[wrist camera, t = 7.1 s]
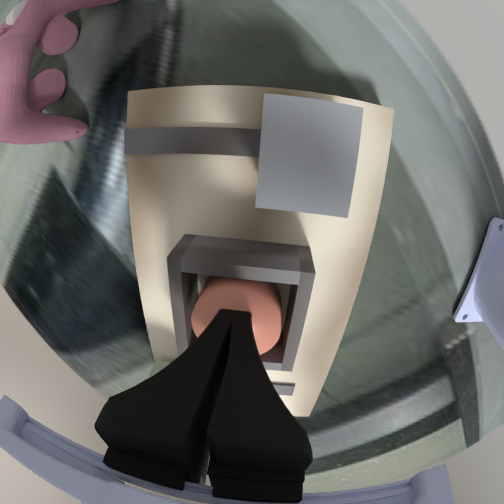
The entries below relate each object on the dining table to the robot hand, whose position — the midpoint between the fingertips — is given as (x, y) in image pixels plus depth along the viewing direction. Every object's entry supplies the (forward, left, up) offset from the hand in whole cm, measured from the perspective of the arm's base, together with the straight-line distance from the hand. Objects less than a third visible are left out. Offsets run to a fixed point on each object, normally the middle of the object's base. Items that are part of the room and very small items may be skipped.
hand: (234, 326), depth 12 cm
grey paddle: (-2, -8, -2) cm, 8 cm away
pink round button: (0, 0, -2) cm, 2 cm away
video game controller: (+11, -13, -5) cm, 18 cm away
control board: (0, +1, -4) cm, 4 cm away
